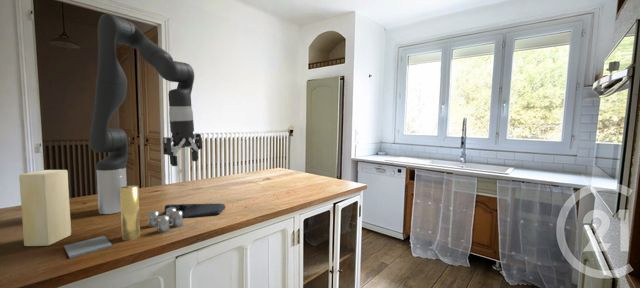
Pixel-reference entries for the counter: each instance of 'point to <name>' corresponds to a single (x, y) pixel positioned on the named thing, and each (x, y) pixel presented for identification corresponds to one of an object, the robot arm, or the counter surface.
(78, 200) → the counter surface
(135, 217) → the brass sleeve
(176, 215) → the steel spacer
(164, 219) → the steel spacer
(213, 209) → the dark slate chunk
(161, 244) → the counter surface
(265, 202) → the counter surface
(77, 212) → the counter surface
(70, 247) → the slate pad
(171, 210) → the steel spacer
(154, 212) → the steel spacer
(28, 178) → the cream rectangular block
